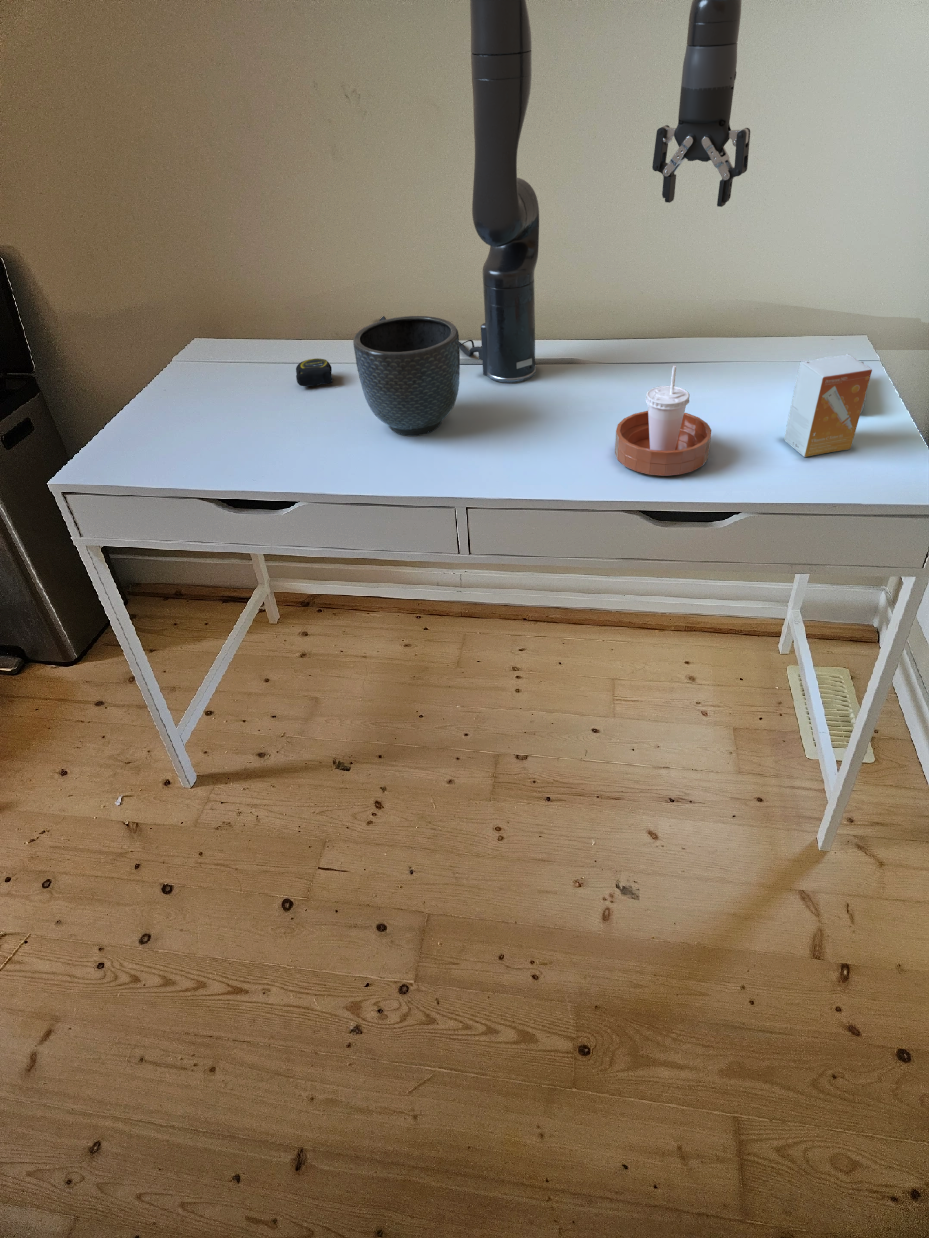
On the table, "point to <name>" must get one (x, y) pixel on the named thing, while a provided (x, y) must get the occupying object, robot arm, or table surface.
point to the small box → (826, 404)
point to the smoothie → (666, 414)
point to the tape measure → (313, 372)
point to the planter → (409, 371)
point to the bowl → (640, 458)
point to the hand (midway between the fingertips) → (695, 203)
